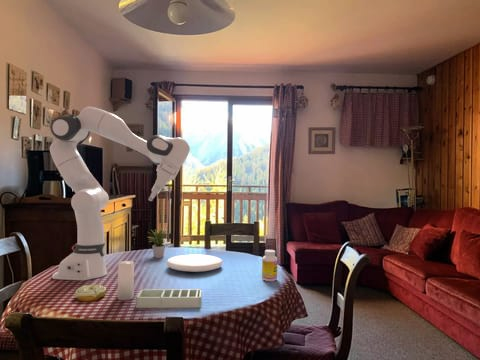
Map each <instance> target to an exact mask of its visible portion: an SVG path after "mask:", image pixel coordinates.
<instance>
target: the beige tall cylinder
mask: <svg viewBox="0 0 480 360" xmlns="http://www.w3.org/2000/svg"><path fill="white" fill-rule="evenodd" d="M134 277H135V261H132V260H124V261H123V260H122V261H119V262H117V300H119V301H129V300H132V299H134V296H135V292H134V290H135V288H134V287H135V286H134V284H135V281H134V280H135V278H134Z"/></svg>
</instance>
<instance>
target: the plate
mask: <svg viewBox="0 0 480 360" xmlns="http://www.w3.org/2000/svg"><path fill="white" fill-rule="evenodd" d="M166 265H167V267H168V268H170V269H173V270H174V271H175V270H176V271H182V272H189V273H190V272H192V273H194V272H195V273H200V272H208V271H213V270H217V269H219V268H220V267H222V266H223V260H222V258H221V257H217V256H214V255H209V254H200V253H194V254H193V253H192V254H190V253H189V254H183V255H182V254H181V255H175V256H172V257H169V258H168V259H167V261H166Z"/></svg>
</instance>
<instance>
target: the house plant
mask: <svg viewBox="0 0 480 360" xmlns="http://www.w3.org/2000/svg"><path fill="white" fill-rule="evenodd" d="M149 230H150V231H151V232H152V233H151V232H148V234H149V235H150V236H147V238H149V239H147V240H148V243H151V242H152V243H154V244H153V245H152V248H151V249H152V254H153V258H155V259H159V258H160V259H161V258H164V256H165V249H166V244H164V243H165V241H166V240H167V239H171V238H170V237H167V238H165V237H166V236H167V234H166V233H167V232H166V230H163V228H162V227H160V228H159V230H158V232H157V230H156V229H154V230H152V229H149ZM154 231H155V232H154ZM164 238H165V239H164Z"/></svg>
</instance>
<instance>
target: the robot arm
mask: <svg viewBox="0 0 480 360" xmlns="http://www.w3.org/2000/svg"><path fill="white" fill-rule="evenodd" d="M49 127H50V128H49V129H50V132H51V134H52V135H53V136H54V138H56V140H55V141H53V142H51V144H50V146H49V153H50V155H51V159H52V161H53V163H54V165H55V167H56V169H57V170H58V172H59V174H60V176H61V177H62V179H63V181H64V183H65V184H66V185H67V186H68V187H70V188H71V189H72V190H73V191H74V193H75V194H73V196H72V197H71V200H70V202H71V207H72V209H73V211H74V215H75V220H76V225H77V226H76V228H77V243H74V245H72V246H71V250H72V251H73V252H71V253H70V254H69V255H68V256H66V257H65V258H63V259H62V261H60V263H59V265H58V269H57V270H56V272H54V273H53V274H52V277H51V278H52V279H53V280H67V281H68V280H69V281H89V280H92V279H97V278H102V277H104V276H106V275H108V270H107V266H106V261H105V260H106V259H105V254H106V243H105V224H104V222H103V219H102V218H103V217H102V210H103V209H105V208H106V207H107V205H108V204H109V199H110V197H109V194H108V192H106V190H104V188H103V187H102V186H101V184H100V183H99V181H98V180H97V179H96V177H94V176H93V174H92V173H91V172H90V170H89V167H87V164H86V162H85V160H83V157H82V156H81V154H80V153H79V151H78V149H77V147H79V146H81V145H83V144H84V143H83V142H85V141H86V140H87V139H89V137H90V135H91V133H94V134H96V135H98V136H101V137H103V138H105V139H107V140H110V141H113V142H116V143H119V144H120V145H122V146H125V147H127V148H129V149H132V150H133V151H135V152H137V153H139V154H142V155H143V156H145V157H147V159H148V160H149V161H151V163H152V164H154V165H156V166H157V167H156V170H155V171H156V172H157V173H156V176H157V177H156V179H155V183H154V184H153V186H152V188H151V193H150V195H149V197H148V201H150V202H153V200H154V199H155V197H156V196H157V195H158V194H160V192H161V191H162V189H163V188H164V187H165V186H166V185H167V183H168V182H169V183H170V181H174V180H175V178H176V177H177V175H178V173H179V172H180V170H181V167H182V166H183V165H184V163H185V162H186V160H187V159H188V158H187V157H188V155H189V153H190V150H191V149H190V145H189V144H188V141H186V140H185V139H183V138H182V137H178V136H177V137H166V136H163V135H161V134H154V135H152V136H150V137H149V138H148V140H146V139H143V138H141V137H139V136H137V135H136V134H135V133H133V132H132V131H131V129H130V128H129V127H128V125H127V124H126V123H125V121H124V120H123V119H122V118H120V117H119V116H118V115H116V114H114V113H112V112H110V111H107V110H104V109H102V108H98V107H94V106H86V107H84V108H83V109H82V110H81V111H80V113H79V114H78V115H77V116H76V115H75V114H67V115H61V116H57V117H55V118H53V120H52V121H51V123H50V125H49Z"/></svg>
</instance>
